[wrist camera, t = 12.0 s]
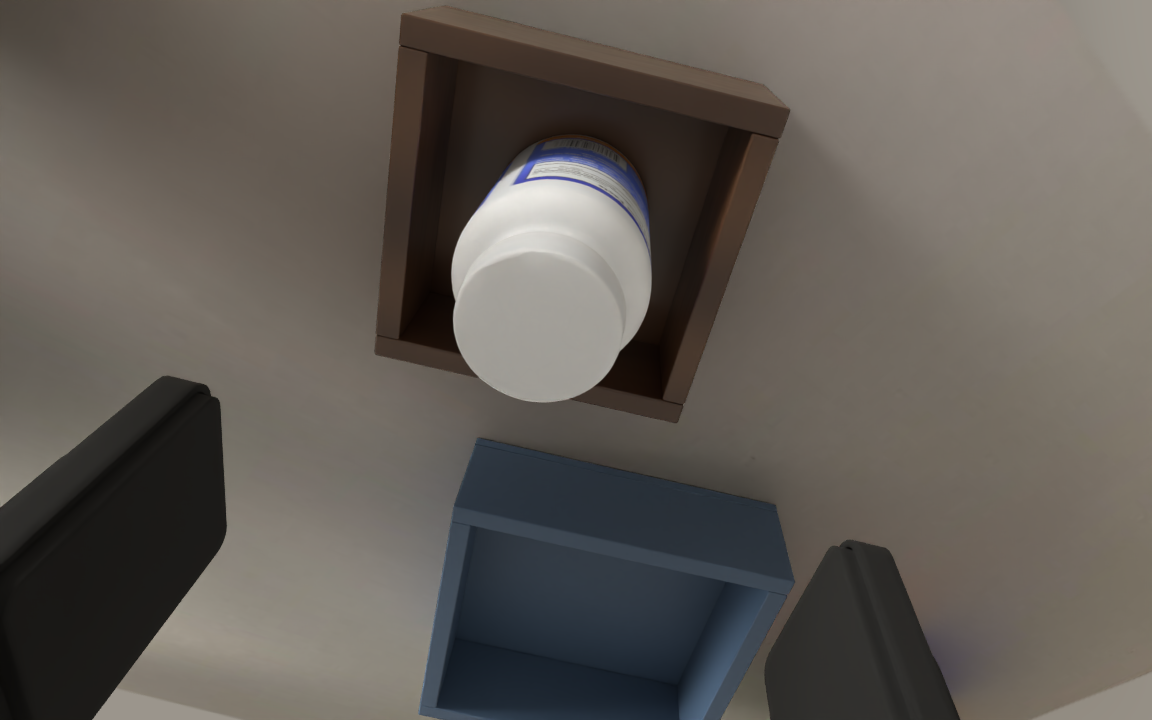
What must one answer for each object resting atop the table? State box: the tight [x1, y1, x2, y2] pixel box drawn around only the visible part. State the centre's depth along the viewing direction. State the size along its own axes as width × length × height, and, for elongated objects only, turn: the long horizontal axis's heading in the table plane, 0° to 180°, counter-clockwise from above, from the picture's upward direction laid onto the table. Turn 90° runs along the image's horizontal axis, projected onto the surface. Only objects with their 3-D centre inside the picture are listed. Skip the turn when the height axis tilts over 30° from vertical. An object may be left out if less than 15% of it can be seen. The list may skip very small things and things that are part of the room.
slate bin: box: [418, 438, 795, 720], centre depth 32 cm, size 14×14×4 cm
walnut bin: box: [375, 5, 790, 423], centre depth 23 cm, size 11×11×4 cm
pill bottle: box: [451, 134, 652, 403], centre depth 20 cm, size 5×5×10 cm
